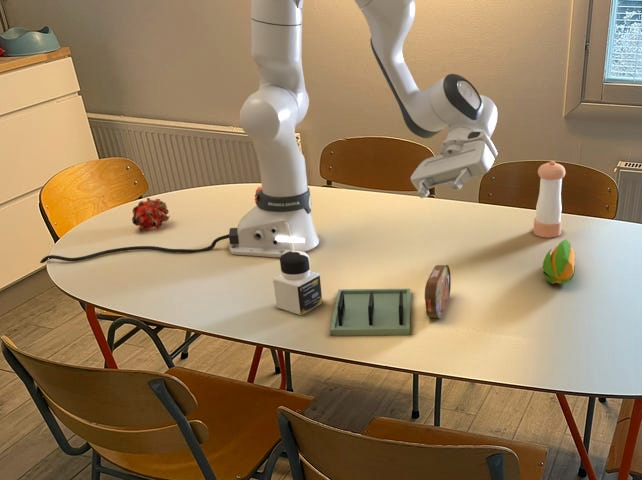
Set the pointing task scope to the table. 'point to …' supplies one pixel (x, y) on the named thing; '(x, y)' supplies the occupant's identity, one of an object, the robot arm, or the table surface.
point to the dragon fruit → (150, 214)
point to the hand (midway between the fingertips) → (438, 191)
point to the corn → (559, 263)
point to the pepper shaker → (549, 201)
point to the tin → (437, 291)
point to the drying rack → (371, 312)
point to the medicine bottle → (297, 284)
